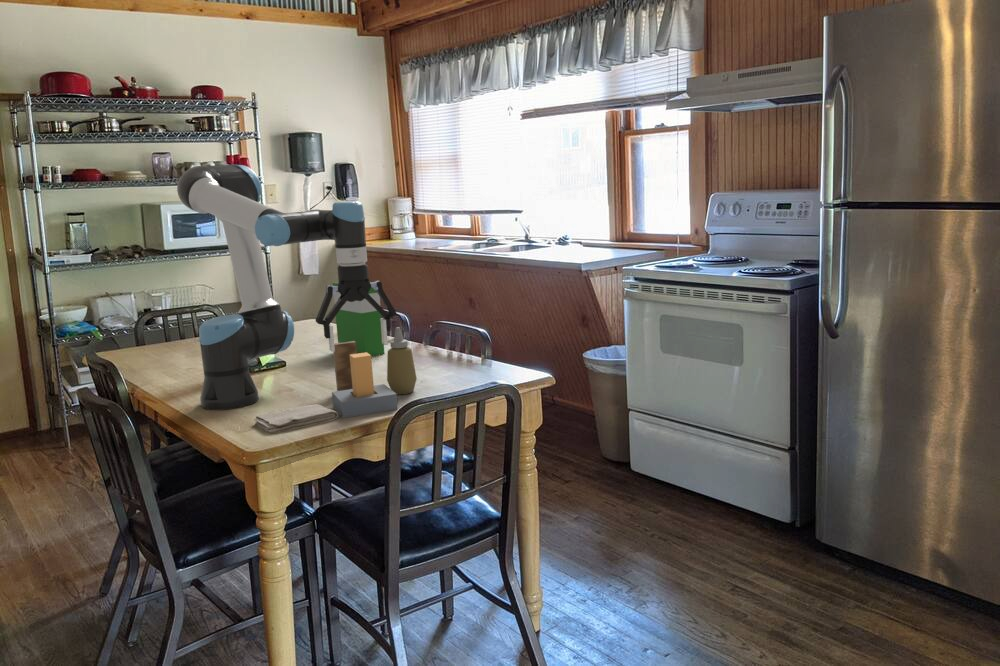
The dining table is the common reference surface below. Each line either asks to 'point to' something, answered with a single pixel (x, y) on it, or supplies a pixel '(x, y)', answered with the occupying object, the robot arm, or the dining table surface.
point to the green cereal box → (360, 324)
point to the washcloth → (295, 418)
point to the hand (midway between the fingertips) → (358, 347)
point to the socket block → (364, 401)
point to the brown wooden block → (344, 364)
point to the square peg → (361, 374)
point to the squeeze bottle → (400, 365)
